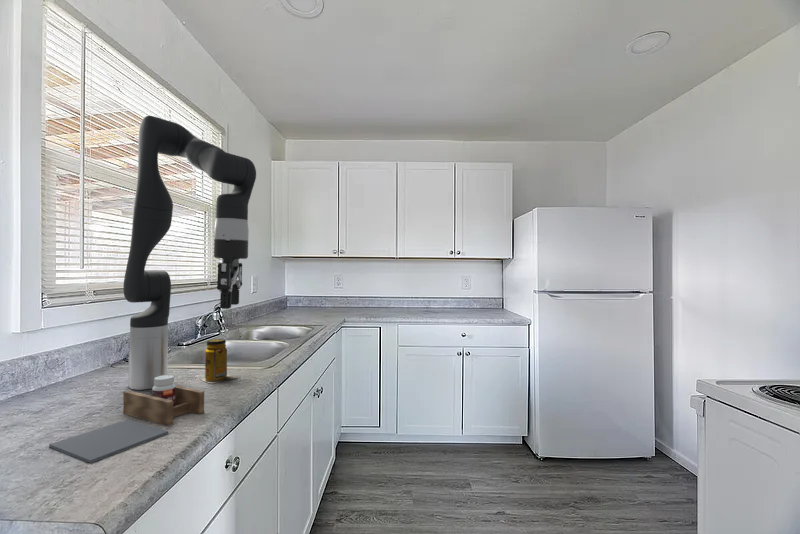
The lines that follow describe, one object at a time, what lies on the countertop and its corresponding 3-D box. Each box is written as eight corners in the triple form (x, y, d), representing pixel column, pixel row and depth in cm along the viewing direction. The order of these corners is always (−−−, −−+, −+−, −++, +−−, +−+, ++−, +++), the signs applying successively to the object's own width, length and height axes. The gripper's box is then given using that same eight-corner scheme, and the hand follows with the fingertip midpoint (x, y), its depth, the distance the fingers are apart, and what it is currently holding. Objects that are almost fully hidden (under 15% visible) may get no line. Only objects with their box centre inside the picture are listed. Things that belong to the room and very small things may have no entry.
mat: (49, 446, 76) (49, 444, 76) (127, 421, 88) (127, 419, 88) (90, 463, 69) (90, 460, 69) (168, 433, 82) (168, 431, 82)
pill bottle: (164, 417, 91) (165, 380, 91) (146, 416, 92) (147, 379, 92) (180, 410, 95) (180, 375, 95) (163, 408, 96) (163, 373, 96)
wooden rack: (123, 413, 93) (123, 391, 93) (160, 402, 101) (160, 382, 101) (167, 425, 86) (167, 402, 86) (204, 412, 94) (204, 391, 94)
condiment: (199, 379, 122) (200, 340, 122) (226, 374, 128) (227, 336, 128) (210, 384, 117) (211, 343, 117) (238, 378, 123) (238, 339, 124)
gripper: (222, 239, 102) (221, 303, 102) (206, 236, 88) (204, 309, 88) (253, 240, 103) (251, 303, 104) (242, 237, 89) (240, 310, 90)
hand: (230, 306), depth 96 cm, fingers open, 8 cm apart
